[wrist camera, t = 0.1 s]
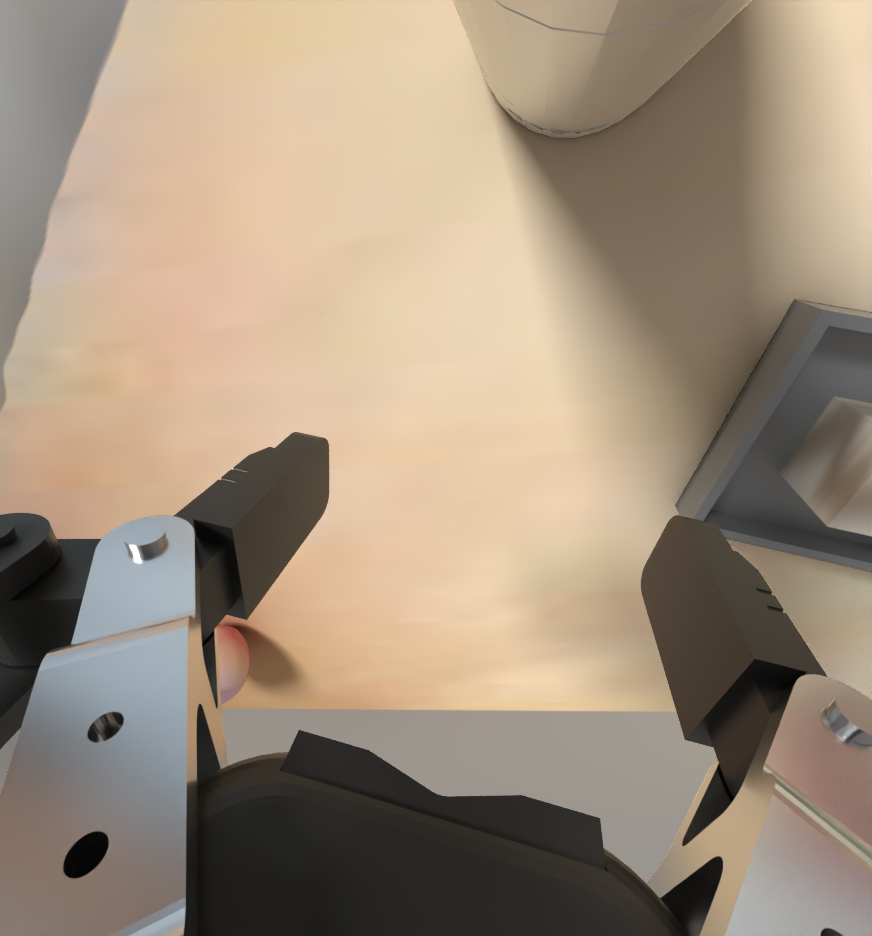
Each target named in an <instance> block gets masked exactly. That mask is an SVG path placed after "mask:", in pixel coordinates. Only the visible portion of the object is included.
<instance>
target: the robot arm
mask: <svg viewBox="0 0 872 936" xmlns="http://www.w3.org/2000/svg"><path fill="white" fill-rule="evenodd" d="M751 1H752V0H453V2H454V5H455V7H456V9H457V12H458V14H459V17H460V19H461V21H462V24H463V26H464V29H465V31H466V33H467V36H468V38H469V41H470V43H471V46H472V48H473V51H474V53H475V56H476V58H477V61H478V63H479V65H480V68H481V70H482V72H483V75H484V77H485V80H486V82H487V84H488V86H489V87H490V89H491V91H492V92H493V94H494V96H495V97H496V99H497V101H498V102H499V104H500V105H501V106H502V107H503V108H504V109H505V110H506V111H507V112H508V113H509V115H510V116H511V117H512V118H513V119H514V120H515V121H517V122H519V123H520V124H522V125H523V126H525V127H527V128H528V129H530V130H532V131H533V132H536V133H540V134H543V135H547V136H550V137H560V138H576V137H580V136H584V135H588V134H593V133H597V132H599V131H601V130H603V129H605V128H608V127H610V126H612V125H614V124H616V123H618V122H620V121H621V120H623V119H624V118H625V117H627V116H628V115H629V114H631V113H632V112H633V111H635V110H636V109H637V108H639V107H640V106H641V105H643V104H644V103H645V102H646V101H647V100H648V99H649V98H650V97H651V96H652V95H653V94H654V93H655V92H656V91H657V90H658V89H659V88H661V87H662V86H663V85H664V84H665V83H666V82H667V81H668V80H669V79H671V78H672V77H673V76H674V75H675V74H676V73H677V72H678V71H679V70H680V69H681V68H682V67H683V66H684V65H685V64H686V63H687V62H688V61H689V60H690V59H691V58H693V57H694V56H695V55H696V54H697V53H698V52H699V51H700V50H701V49H702V48H703V47H704V46H705V45H706V44H707V43H708V42H709V41H710V40H711V39H712V38H713V37H715V36H716V35H717V34H718V33H719V32H720V31H721V30H722V29H723V28H724V27H725V26H726V25H727V24H728V23H729V22H730V21H731V20H732V19H733V18H734V17H735V16H736V15H738V14H739V13H740V12H741V11H742V10H743V9H744V8H745V7H746V6H747V5H748V4H749V3H750V2H751ZM328 498H329V444H328V441H327V439H325V438H322V437H317V436H312V435H308V434H303V433H299V432H294V433H292V434H291V435H289V436H288V437H287V438H286V439H285V440H284V441H282V442H281V443H280V444H279V445H278V446H277V447H275V448H272V447H268V448H266V449H263V450H261V451H258V452H256V453H253V454H251V455H248V456H247V457H246V458H245V459H244V460H242V461H241V462H240V463H239V464H237V465H236V466H235V467H234V469H233V470H230V471H229V472H227V473H226V474H225V475H224V476H223V477H222V479H221V480H218V481H216V482H215V483H214V484H213V485H211V486H210V487H209V488H208V489H206V490H205V491H204V492H203V493H202V494H200V495H199V496H198V497H197V498H195V499H194V500H193V501H192V502H190V503H189V504H188V505H187V506H185V507H184V508H183V509H182V510H180V511H179V512H178V513H177V514H176V515H174V516H166V515H159V516H149V517H144V518H140V519H136V520H133V521H130V522H128V523H125V524H123V525H121V526H119V527H117V528H115V529H114V530H112V531H111V532H109V533H108V534H107V535H105V536H104V538H103V539H56V537H55V534H54V532H53V530H52V528H51V526H50V523H49V521H48V520H47V519H46V518H44V517H42V516H40V515H36V514H30V513H11V514H3V515H0V749H1V748H2V747H3V746H4V744H6V742H7V741H8V740H9V739H10V738H11V737H12V736H13V735H14V734H15V733H16V732H17V731H18V730H19V729H20V728H21V729H20V733H19V735H18V739H17V742H16V745H15V748H14V752H13V755H12V758H11V762H10V765H9V768H8V771H7V775H6V778H5V781H4V784H3V788H2V791H1V794H0V936H872V700H870V699H869V698H868V697H866V696H865V695H863V694H862V693H860V692H859V691H857V690H855V689H853V688H852V687H850V686H848V685H846V684H844V683H842V682H840V681H837V680H835V679H832V678H829V677H827V675H826V674H825V672H824V671H823V669H822V668H821V666H820V665H819V663H818V662H817V660H816V659H815V657H814V655H813V654H812V652H811V651H810V649H809V648H808V646H807V645H806V643H805V642H804V640H803V639H802V637H801V635H800V634H799V632H798V631H797V629H796V628H795V626H794V625H793V623H792V622H791V620H790V619H789V617H788V616H787V614H786V613H783V608H782V606H781V605H780V603H779V602H778V600H777V599H776V597H775V596H773V595H771V593H772V591H771V589H770V588H769V586H768V585H767V583H766V582H765V580H764V579H763V577H762V576H761V574H760V573H759V571H758V570H757V569H756V568H755V567H753V566H752V565H751V564H750V563H749V562H748V561H747V560H746V559H745V558H744V557H742V556H741V555H740V554H739V553H738V552H737V551H733V550H732V548H731V547H730V545H729V543H728V542H727V540H726V539H725V537H724V535H723V534H722V532H721V530H720V529H719V527H718V526H717V525H716V524H714V523H711V522H707V521H702V520H697V519H693V518H688V517H683V516H678V515H677V516H674V517H672V518H671V519H670V521H669V522H668V524H667V525H666V527H665V529H664V531H663V533H662V535H661V537H660V538H659V540H658V542H657V544H656V546H655V548H654V550H653V551H652V553H651V555H650V557H649V559H648V561H647V563H646V565H645V567H644V569H643V573H642V578H641V591H642V596H643V599H644V602H645V606H646V609H647V613H648V616H649V619H650V623H651V626H652V629H653V633H654V636H655V640H656V643H657V646H658V650H659V653H660V657H661V660H662V663H663V667H664V670H665V673H666V677H667V680H668V684H669V687H670V690H671V694H672V697H673V701H674V704H675V707H676V711H677V714H678V717H679V721H680V724H681V728H682V731H683V734H684V738H685V740H688V741H692V742H696V743H699V744H703V745H707V746H710V747H714V750H715V752H716V756H717V759H718V760H717V761H716V762H715V763H714V764H713V765H712V766H711V768H710V769H709V770H708V772H707V774H706V776H705V779H704V780H703V782H702V785H701V787H700V789H699V791H698V793H697V795H696V797H695V799H694V801H693V803H692V805H691V807H690V809H689V811H688V813H687V815H686V817H685V819H684V822H683V823H682V826H681V827H680V830H679V831H678V833H677V836H676V838H675V840H674V842H673V844H672V846H671V848H670V850H669V852H668V853H667V855H666V857H665V858H664V860H663V862H662V863H661V864H660V866H659V867H658V868H657V869H656V871H655V872H654V873H653V875H652V876H651V878H650V879H649V880H648V882H647V883H645V882H644V881H643V880H642V879H641V878H640V877H639V876H638V875H637V874H636V873H635V872H633V871H632V870H631V869H630V868H629V867H628V866H627V865H626V864H624V863H623V862H621V861H620V860H619V859H618V858H617V857H615V856H614V855H613V854H612V853H610V852H609V851H607V850H605V849H604V848H603V841H602V832H601V823H600V818H597V817H594V816H590V815H587V814H584V813H580V812H577V811H573V810H570V809H567V808H563V807H560V806H556V805H553V804H550V803H546V802H542V801H539V800H536V799H532V798H529V797H526V796H522V795H516V796H515V795H514V796H456V797H447V796H441V795H437V794H435V793H434V792H432V791H430V790H429V789H427V788H426V787H424V786H422V785H421V784H419V783H418V782H416V781H414V780H413V779H412V778H410V777H409V776H407V775H406V774H404V773H402V772H401V771H400V770H398V769H397V768H395V767H393V766H392V765H390V764H389V763H387V762H386V761H384V760H383V759H381V758H380V757H378V756H377V755H375V754H374V753H372V752H370V751H369V750H365V749H362V748H359V747H355V746H352V745H349V744H345V743H342V742H338V741H335V740H332V739H328V738H325V737H321V736H318V735H314V734H311V733H308V732H304V731H301V730H299V731H298V733H297V736H296V738H295V740H294V742H293V744H292V746H291V749H290V751H289V752H284V753H273V754H267V755H260V756H256V757H253V758H249V759H246V760H242V761H239V762H237V763H234V764H232V765H229V766H228V760H227V752H226V744H225V738H224V732H223V722H222V707H221V690H220V673H219V655H218V638H217V631H216V627H217V625H218V624H219V623H220V622H221V620H222V619H223V618H224V617H225V615H226V614H227V615H231V616H234V617H238V618H242V619H245V620H247V619H248V618H249V616H250V615H251V613H252V612H253V611H254V609H255V608H256V607H257V605H258V604H259V602H260V601H261V600H262V598H263V597H264V596H265V594H266V593H267V591H268V590H269V589H270V587H271V586H272V584H273V583H274V582H275V580H276V579H277V578H278V576H279V575H280V573H281V572H282V571H283V569H284V568H285V567H286V565H287V564H288V562H289V561H290V560H291V558H292V557H293V556H294V554H295V553H296V551H297V550H298V549H299V547H300V546H301V544H302V543H303V542H304V540H305V539H306V538H307V536H308V535H309V533H310V532H311V531H312V529H313V528H314V527H315V525H316V524H317V522H318V521H319V520H320V518H321V517H322V515H323V513H324V511H325V509H326V506H327V503H328Z"/></svg>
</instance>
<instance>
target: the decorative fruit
mask: <svg viewBox="0 0 872 936" xmlns="http://www.w3.org/2000/svg"><path fill="white" fill-rule="evenodd" d="M216 631H217V638H218V655H219V673H220V690H221V705H222V704H223V703H225V702H227V701H228V700H230V699H231V698H232V697H234V696H235V695H236V694H237V693H238V692H239V691H240V690H241V688H242V687H243V685H244V683H245V681H246V678H247V675H248V671H249V665H250V655H249V649H248V645H247V643H246V641H245V639H244V637H243V636H242V634H241V633H240V632H239V631H238V630H237V629H236V628H234V627H230V626H226V625H217V627H216Z"/></svg>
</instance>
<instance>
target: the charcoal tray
mask: <svg viewBox="0 0 872 936" xmlns="http://www.w3.org/2000/svg"><path fill="white" fill-rule="evenodd" d="M834 396H837V397H842V398H847V399H852V400H857V401H863V402H868V403H872V313H871V312H865V311H859V310H854V309H848V308H842V307H836V306H831V305H825V304H819V303H814V302H808V301H802V300H796V299H795V300H794V302H793V303H792V305H791V307H790V308H789V310H788V312H787V314H786V315H785V317H784V319H783V321H782V322H781V324H780V326H779V327H778V329H777V331H776V333H775V334H774V336H773V338H772V340H771V341H770V343H769V345H768V346H767V348H766V350H765V352H764V353H763V355H762V357H761V359H760V360H759V362H758V364H757V365H756V367H755V369H754V371H753V372H752V374H751V376H750V378H749V379H748V381H747V383H746V384H745V386H744V388H743V390H742V391H741V393H740V395H739V397H738V398H737V400H736V402H735V403H734V405H733V407H732V409H731V410H730V412H729V414H728V416H727V417H726V419H725V421H724V422H723V424H722V426H721V428H720V429H719V431H718V433H717V434H716V436H715V438H714V440H713V441H712V443H711V445H710V447H709V448H708V450H707V452H706V453H705V455H704V457H703V459H702V460H701V462H700V464H699V466H698V467H697V469H696V471H695V472H694V474H693V476H692V478H691V479H690V481H689V483H688V485H687V486H686V488H685V490H684V491H683V493H682V495H681V497H680V498H679V500H678V502H677V504H676V505H675V506H676V508H677V510H678V512H679V514H680V516H683V517H688V518H693V519H697V520H702V521H707V522H711V523H714V524H716V525H717V526H718V527H719V529H720V530H721V532H722V534H723V535H724V537H725V538H726V539H730V540H734V541H739V542H743V543H747V544H752V545H756V546H760V547H765V548H769V549H774V550H778V551H782V552H787V553H791V554H795V555H800V556H804V557H808V558H813V559H817V560H821V561H826V562H830V563H834V564H839V565H843V566H847V567H852V568H856V569H860V570H865V571H869V572H872V536H868V535H863V534H859V533H854V532H850V531H845V530H841V529H836V528H832V527H827V526H826V525H825V524H824V522H823V521H822V520H821V519H820V518H819V517H818V516H817V515H816V514H815V512H814V511H813V510H812V509H811V508H810V507H809V506H808V505H807V504H806V502H805V501H804V500H803V499H802V498H801V497H800V496H799V495H798V494H797V492H796V491H795V490H794V489H793V488H792V487H791V486H790V485H789V484H788V482H787V481H786V480H785V479H784V478H783V477H782V476H781V475H780V474H779V472H780V471H781V470H782V468H783V467H784V465H785V464H786V463H787V461H788V460H789V458H790V457H791V456H792V454H793V453H794V451H795V450H796V449H797V447H798V446H799V444H800V443H801V442H802V440H803V439H804V437H805V436H806V435H807V433H808V432H809V431H810V429H811V428H812V426H813V425H814V424H815V422H816V421H817V419H818V418H819V417H820V415H821V414H822V412H823V411H824V410H825V408H826V407H827V405H828V404H829V403H830V401H831V400H832V398H833V397H834Z"/></svg>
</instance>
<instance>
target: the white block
mask: <svg viewBox="0 0 872 936" xmlns="http://www.w3.org/2000/svg"><path fill="white" fill-rule="evenodd" d="M779 474H780V475H781V476H782V477H783V478H784V479H785V480H786V481H787V482H788V484H789V485H790V486H791V487H792V488H793V489H794V490H795V491H796V492H797V494H798V495H799V496H800V497H801V498H802V499H803V500H804V501H805V502H806V504H807V505H808V506H809V507H810V508H811V509H812V510H813V511H814V512H815V514H816V515H817V516H818V517H819V518H820V519H821V520H822V521H823V522H824V524H825V525H826V526H827V527H832V528H836V529H841V530H845V531H850V532H854V533H859V534H863V535H868V536H872V403H868V402H863V401H857V400H852V399H847V398H842V397H837V396H834V397H833V398H832V400H831V401H830V403H829V404H828V405H827V407H826V408H825V410H824V411H823V412H822V414H821V415H820V417H819V418H818V419H817V421H816V422H815V424H814V425H813V426H812V428H811V429H810V431H809V432H808V433H807V435H806V436H805V437H804V439H803V440H802V442H801V443H800V444H799V446H798V447H797V449H796V450H795V451H794V453H793V454H792V456H791V457H790V458H789V460H788V461H787V463H786V464H785V465H784V467H783V468H782V470H781V471H780V472H779Z"/></svg>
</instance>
